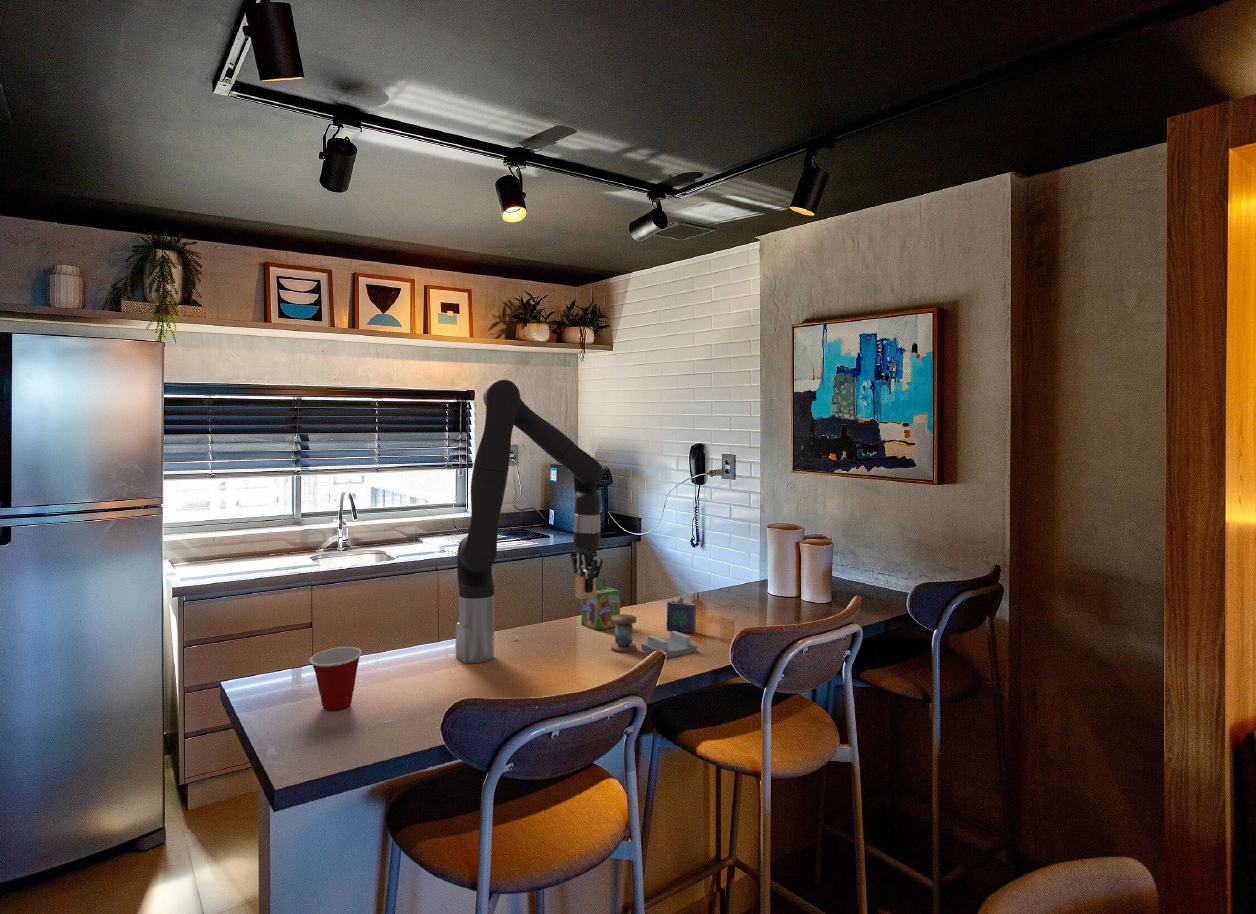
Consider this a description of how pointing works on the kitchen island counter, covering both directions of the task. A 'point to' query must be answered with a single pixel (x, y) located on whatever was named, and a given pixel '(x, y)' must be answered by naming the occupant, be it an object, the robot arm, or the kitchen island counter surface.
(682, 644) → the grey ridged tray
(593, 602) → the chalk box
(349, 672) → the plastic cup
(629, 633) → the bobbin
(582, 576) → the brown wooden block
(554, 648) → the kitchen island counter surface
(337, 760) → the kitchen island counter surface
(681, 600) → the flask
